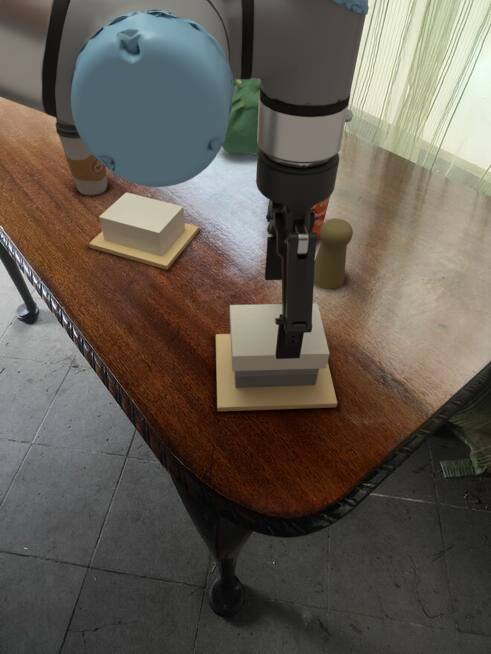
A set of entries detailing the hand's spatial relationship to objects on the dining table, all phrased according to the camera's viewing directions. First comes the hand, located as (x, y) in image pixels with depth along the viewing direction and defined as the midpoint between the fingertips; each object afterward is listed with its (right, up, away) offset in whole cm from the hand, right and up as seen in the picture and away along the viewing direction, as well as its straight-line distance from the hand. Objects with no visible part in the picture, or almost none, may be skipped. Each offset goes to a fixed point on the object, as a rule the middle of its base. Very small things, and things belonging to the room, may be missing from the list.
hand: (280, 314), depth 56 cm
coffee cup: (-37, +28, +41) cm, 62 cm away
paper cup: (+7, +16, +31) cm, 36 cm away
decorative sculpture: (-2, +42, +55) cm, 70 cm away
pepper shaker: (+10, +7, +23) cm, 26 cm away
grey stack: (-1, -8, +8) cm, 12 cm away
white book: (0, -4, +4) cm, 6 cm away
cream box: (-23, +15, +29) cm, 40 cm away
